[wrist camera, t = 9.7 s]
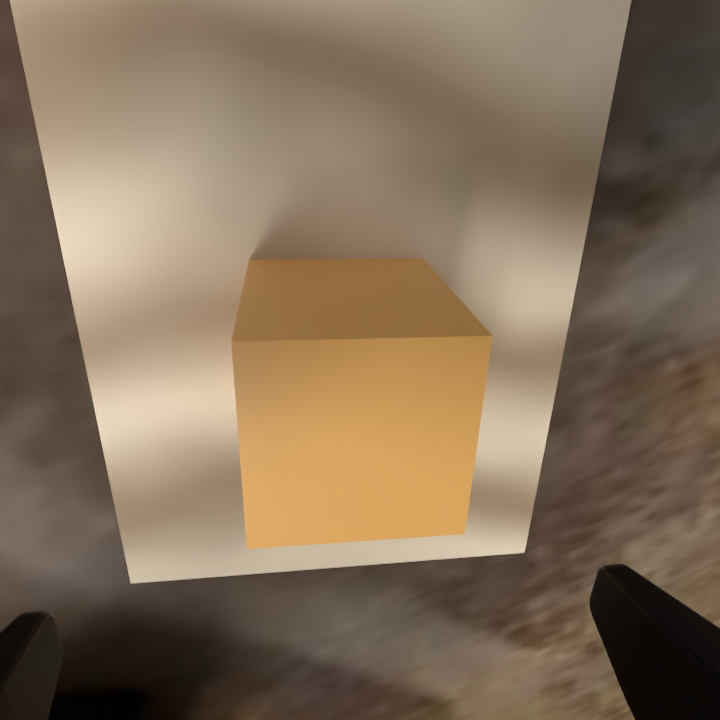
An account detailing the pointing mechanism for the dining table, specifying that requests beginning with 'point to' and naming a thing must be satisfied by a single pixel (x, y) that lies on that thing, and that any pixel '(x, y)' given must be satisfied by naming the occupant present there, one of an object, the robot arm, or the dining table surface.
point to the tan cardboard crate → (355, 401)
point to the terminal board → (310, 221)
